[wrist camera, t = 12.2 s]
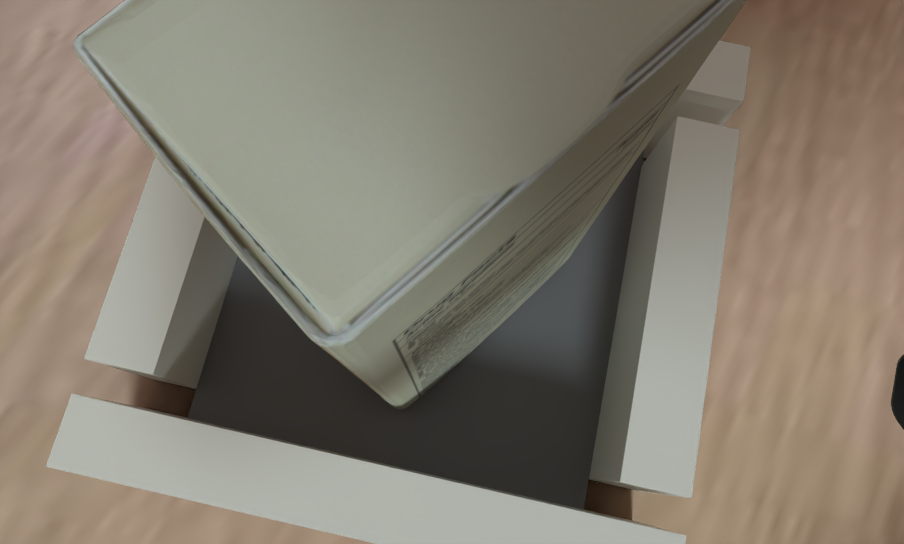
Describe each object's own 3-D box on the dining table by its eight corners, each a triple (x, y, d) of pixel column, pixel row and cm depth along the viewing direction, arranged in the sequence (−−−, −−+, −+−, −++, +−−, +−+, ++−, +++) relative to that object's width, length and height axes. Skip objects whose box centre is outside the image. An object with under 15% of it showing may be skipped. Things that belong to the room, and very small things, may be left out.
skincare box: (464, 146, 20) (516, -302, 8) (574, 259, 19) (803, -54, 8) (280, 298, 19) (37, 27, 7) (392, 426, 18) (326, 359, 6)
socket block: (693, 121, 22) (751, 47, 18) (623, 581, 18) (676, 614, 15) (267, 28, 22) (233, -64, 18) (125, 465, 19) (46, 466, 15)
